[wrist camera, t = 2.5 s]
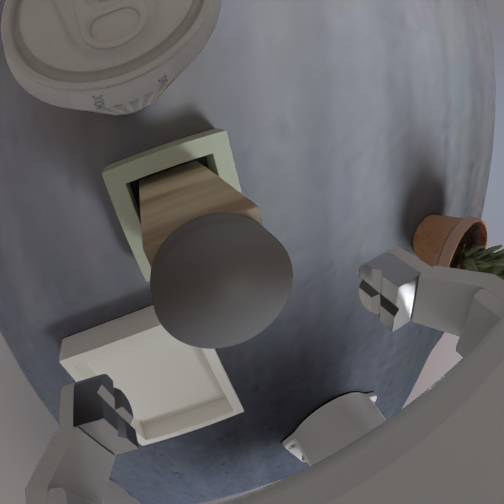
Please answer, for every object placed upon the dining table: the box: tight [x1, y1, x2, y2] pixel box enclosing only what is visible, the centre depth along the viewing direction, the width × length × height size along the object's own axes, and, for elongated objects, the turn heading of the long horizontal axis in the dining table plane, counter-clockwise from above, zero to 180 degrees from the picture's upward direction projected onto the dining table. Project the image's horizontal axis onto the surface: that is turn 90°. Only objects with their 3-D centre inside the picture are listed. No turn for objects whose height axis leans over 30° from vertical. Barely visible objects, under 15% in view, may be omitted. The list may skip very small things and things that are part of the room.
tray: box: [59, 305, 244, 446], centre depth 27 cm, size 16×13×3 cm
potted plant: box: [413, 215, 504, 280], centre depth 24 cm, size 10×10×25 cm
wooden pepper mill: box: [139, 160, 293, 349], centre depth 16 cm, size 5×5×13 cm
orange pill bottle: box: [1, 0, 221, 115], centre depth 10 cm, size 6×6×15 cm
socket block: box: [101, 128, 242, 282], centre depth 21 cm, size 8×8×3 cm
